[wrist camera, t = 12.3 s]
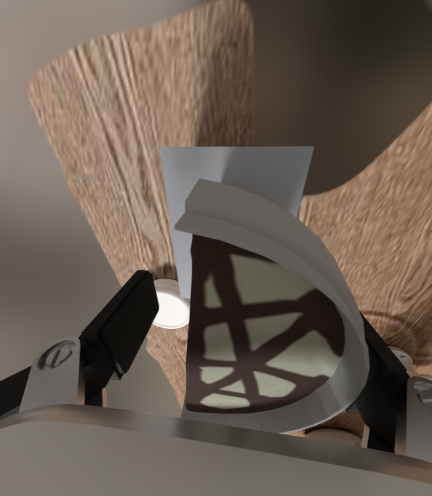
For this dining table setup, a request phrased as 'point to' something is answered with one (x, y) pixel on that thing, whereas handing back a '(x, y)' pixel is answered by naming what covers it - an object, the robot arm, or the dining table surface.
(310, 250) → the food container
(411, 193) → the dining table surface
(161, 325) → the coaster
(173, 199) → the tower top block
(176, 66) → the dining table surface
